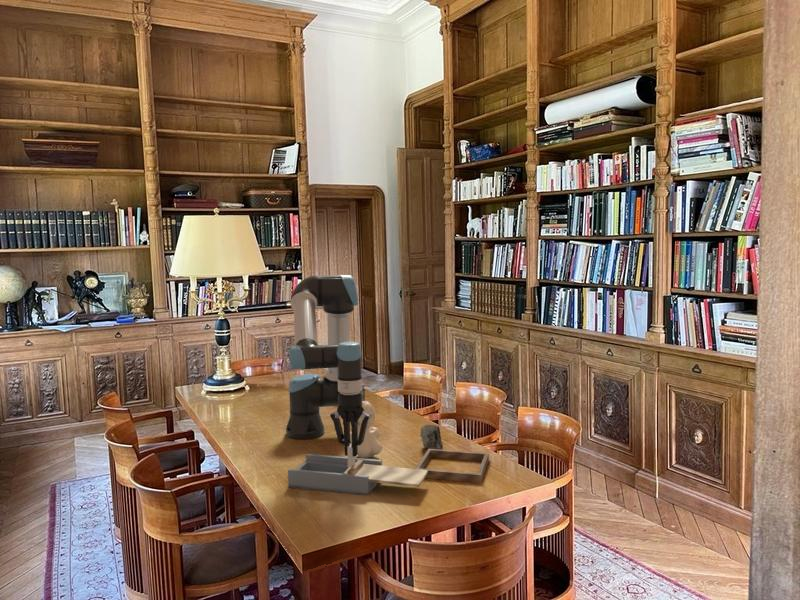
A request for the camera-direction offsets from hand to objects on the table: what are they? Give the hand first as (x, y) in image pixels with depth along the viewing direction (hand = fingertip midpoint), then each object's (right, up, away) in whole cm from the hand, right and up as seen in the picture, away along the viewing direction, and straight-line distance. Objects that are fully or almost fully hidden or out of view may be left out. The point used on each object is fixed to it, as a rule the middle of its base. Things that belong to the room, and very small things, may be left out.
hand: (351, 465), depth 195 cm
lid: (+11, -2, -3) cm, 11 cm away
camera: (-7, +3, +100) cm, 100 cm away
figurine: (+3, -4, +25) cm, 25 cm away
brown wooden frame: (+33, -4, +12) cm, 36 cm away
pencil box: (-5, -6, +2) cm, 8 cm away
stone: (+27, -3, +33) cm, 42 cm away
